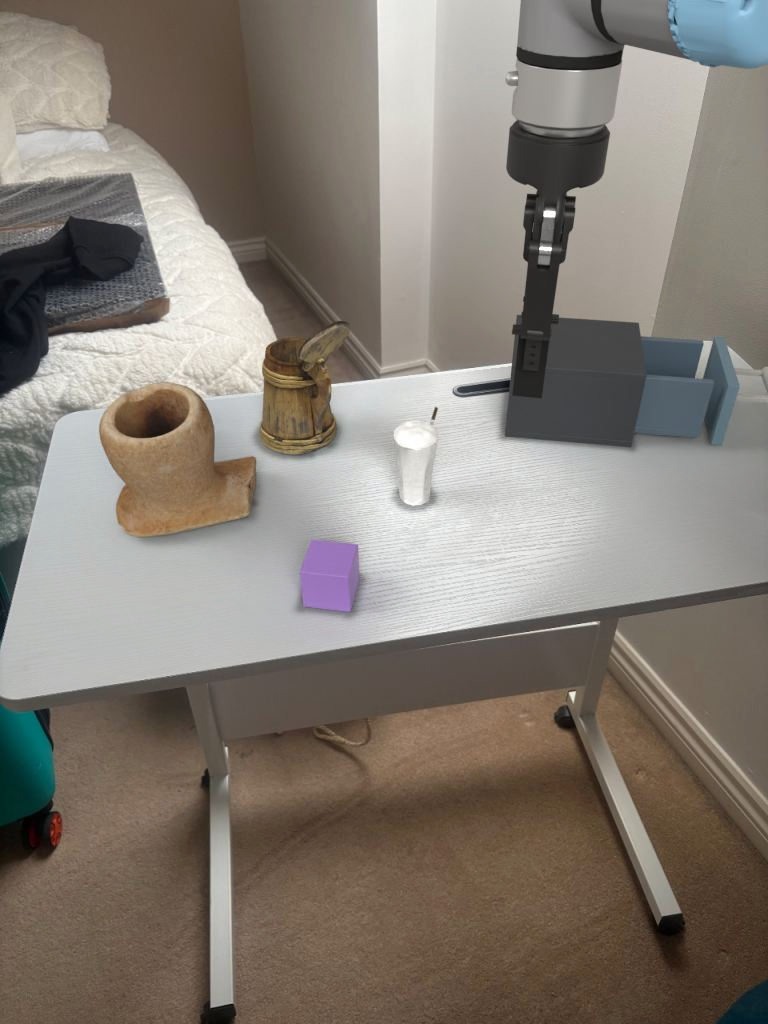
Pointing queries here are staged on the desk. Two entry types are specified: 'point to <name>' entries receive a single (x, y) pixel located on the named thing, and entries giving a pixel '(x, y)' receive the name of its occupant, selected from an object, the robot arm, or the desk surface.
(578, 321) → the cabinet
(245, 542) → the desk surface
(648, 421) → the drawer
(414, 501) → the milkshake
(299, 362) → the wooden mug
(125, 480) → the stone cup
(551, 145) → the robot arm
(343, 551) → the cube
